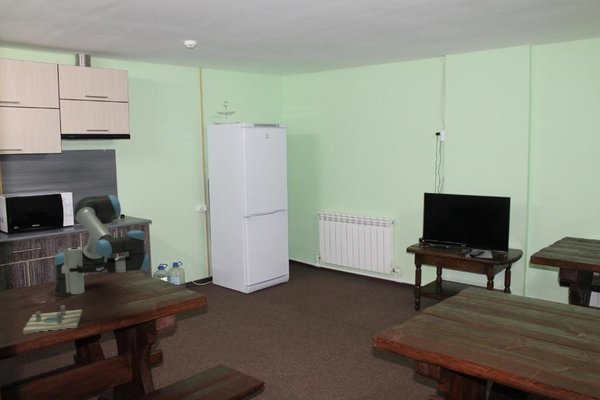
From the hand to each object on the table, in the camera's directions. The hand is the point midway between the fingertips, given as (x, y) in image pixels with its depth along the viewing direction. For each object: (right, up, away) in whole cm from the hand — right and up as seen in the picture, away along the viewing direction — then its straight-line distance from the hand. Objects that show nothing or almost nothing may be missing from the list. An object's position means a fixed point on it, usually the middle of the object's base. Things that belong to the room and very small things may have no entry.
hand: (62, 269), depth 235 cm
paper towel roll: (+5, -12, +4) cm, 13 cm away
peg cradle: (-5, -25, +3) cm, 26 cm away
